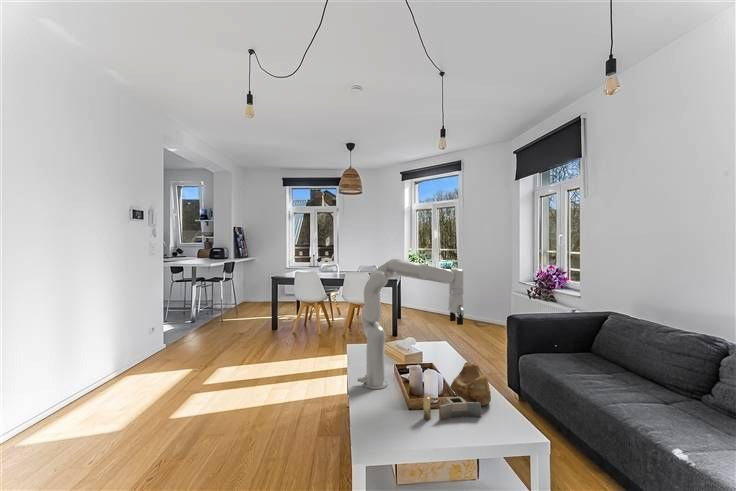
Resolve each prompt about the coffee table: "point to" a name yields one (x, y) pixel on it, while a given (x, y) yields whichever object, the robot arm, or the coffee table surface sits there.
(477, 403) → the hinge
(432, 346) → the coffee table surface
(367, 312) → the robot arm
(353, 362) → the coffee table surface
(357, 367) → the coffee table surface
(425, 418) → the hinge pin
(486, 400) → the rough brown rock
